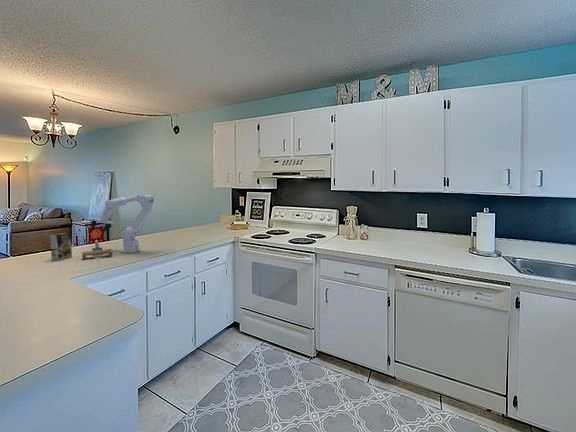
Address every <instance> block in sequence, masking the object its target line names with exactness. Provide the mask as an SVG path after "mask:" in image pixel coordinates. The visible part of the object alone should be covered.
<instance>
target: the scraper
mask: <svg viewBox="0 0 576 432" xmlns="http://www.w3.org/2000/svg"><path fill="white" fill-rule="evenodd" d="M94 245H95V247H93V248H92V249H91V251H97V250H103V247H100V245H99V241H98V240H97V241H95V242H94ZM103 255H104V254H98V255H91V256H92V257H94V256H103Z"/></svg>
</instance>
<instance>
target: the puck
mask: <svg viewBox="0 0 576 432" xmlns="http://www.w3.org/2000/svg"><path fill="white" fill-rule="evenodd" d="M93 258H94V259H95V260H97V259H102V258H103V255H97V256H92V259H93Z"/></svg>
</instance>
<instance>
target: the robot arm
mask: <svg viewBox="0 0 576 432" xmlns="http://www.w3.org/2000/svg"><path fill="white" fill-rule="evenodd" d="M130 202H131V203H132V202H137V203H139V205H140V207H141V208H142V209H141V210H140V212H139V213H138V214H137V216H136V217H135V218H134V220H133V221H132V222H131V224H130V225H129V226H128V227H126V228H125V229H124V230H123V231H121V233H120V238H121V240H122V246H123V247H122V248H123V250H122V251H121V253H124V254H127V253H128V254H133V253H137V252H139V251H141V249H140V242H139V240H138V239H135V237H136V236H137V232H138V231H139V230H138V229H139V228H140V227H141V225H142V224H143V223H144V221H145V220H146V218H148V216H149V215H150V213H151V212H152V210H153V204H154V202H155V199H154V197H153V195H152V194H148V193H147V194H138V195H137V194H135V195H133V196H129V197H124V196H118V197H117V198H114V197H113V198H112V199H107V200H105V202H104V207H103V209H102V211H101V213H100V215H99V217H90V220H89V221H90V222H91V225H90V231H91V232H93V231H94V228H96V225H97V223H101V224H104V227H103V229H102V231H101V232H102V234H104V233H105V232H106V231H108V230H109V229H110V228H112V226H114V221H111V220H109V219H110V218H111V215H112V213H113V212H114V209H116V208H119V207H122V206H126V205H127V203H130Z"/></svg>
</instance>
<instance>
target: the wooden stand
mask: <svg viewBox="0 0 576 432" xmlns="http://www.w3.org/2000/svg"><path fill="white" fill-rule="evenodd" d="M98 254H103V255H106V254H107V255H108V257H109V258H111V257H112V255H113V252H112V249H111V248H109V249H102V250H97V251H92V250H89V251H82V253H81V256H82V260H83V261H85V260H86V258H87V256H88V257H89V256H92V255H97V256H99V255H98Z"/></svg>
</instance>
